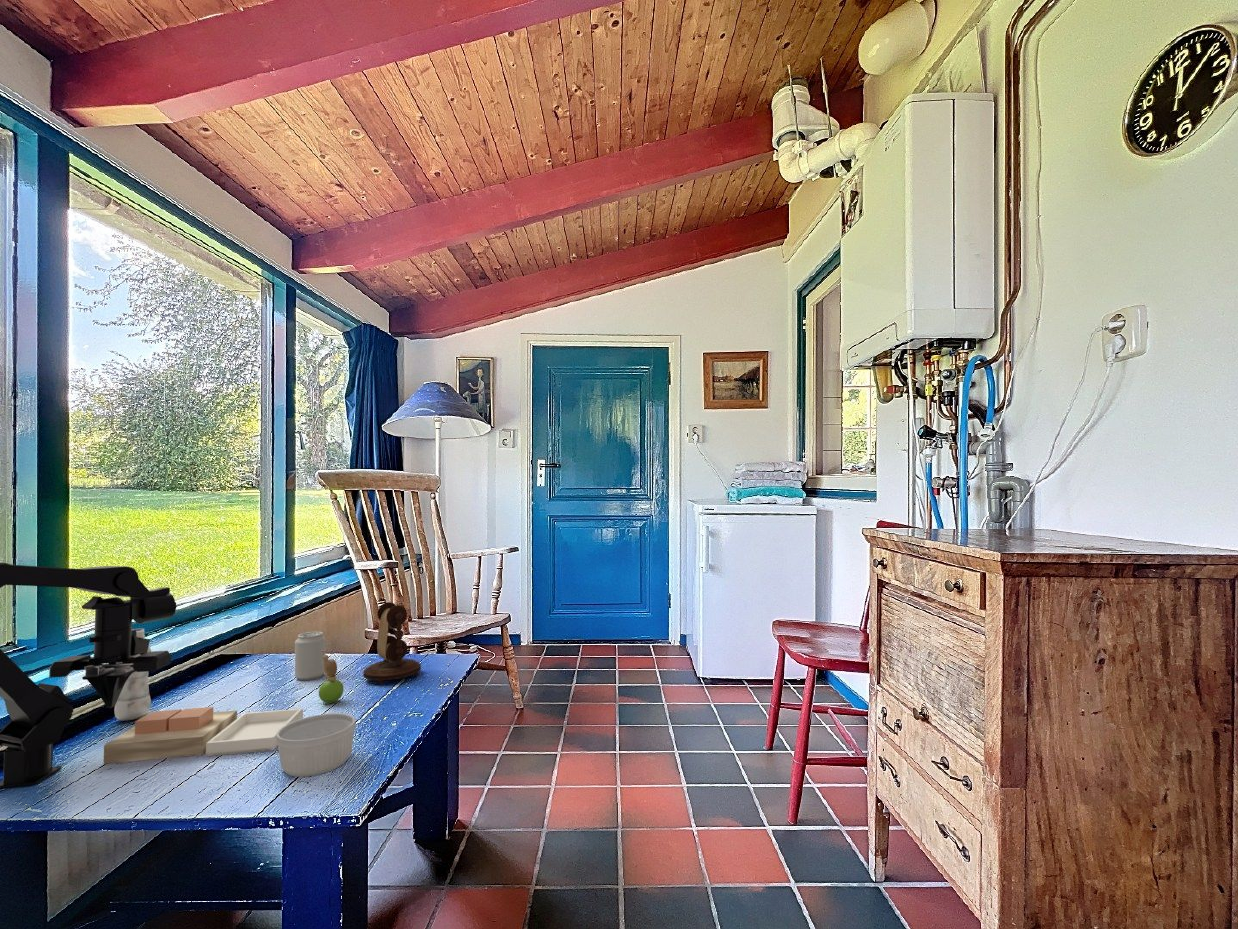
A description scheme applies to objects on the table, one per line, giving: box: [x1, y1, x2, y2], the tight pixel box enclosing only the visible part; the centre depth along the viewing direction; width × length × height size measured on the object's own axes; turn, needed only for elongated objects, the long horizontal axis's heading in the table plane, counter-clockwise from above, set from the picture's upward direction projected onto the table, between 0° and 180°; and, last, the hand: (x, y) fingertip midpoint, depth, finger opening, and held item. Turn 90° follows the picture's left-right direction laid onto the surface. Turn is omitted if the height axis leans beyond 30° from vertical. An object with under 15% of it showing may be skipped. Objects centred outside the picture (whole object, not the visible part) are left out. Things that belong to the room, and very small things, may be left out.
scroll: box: [362, 601, 422, 686], centre depth 161 cm, size 15×15×20 cm
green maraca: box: [318, 649, 345, 704], centre depth 142 cm, size 5×6×12 cm
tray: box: [205, 707, 304, 757], centre depth 122 cm, size 16×12×2 cm
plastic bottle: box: [113, 628, 152, 722], centre depth 134 cm, size 6×7×20 cm
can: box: [294, 631, 326, 681], centre depth 163 cm, size 8×8×12 cm
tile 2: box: [169, 706, 214, 732], centre depth 120 cm, size 6×6×2 cm
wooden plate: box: [103, 710, 238, 765], centre depth 119 cm, size 14×17×4 cm
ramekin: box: [276, 712, 357, 778], centre depth 109 cm, size 13×13×7 cm
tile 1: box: [134, 708, 183, 734], centre depth 119 cm, size 6×6×2 cm
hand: (111, 707), depth 117 cm, fingers closed
